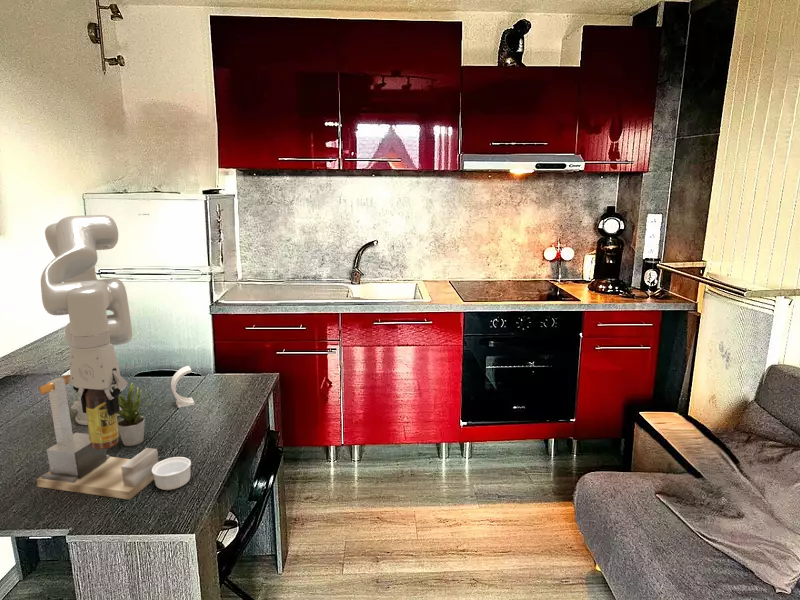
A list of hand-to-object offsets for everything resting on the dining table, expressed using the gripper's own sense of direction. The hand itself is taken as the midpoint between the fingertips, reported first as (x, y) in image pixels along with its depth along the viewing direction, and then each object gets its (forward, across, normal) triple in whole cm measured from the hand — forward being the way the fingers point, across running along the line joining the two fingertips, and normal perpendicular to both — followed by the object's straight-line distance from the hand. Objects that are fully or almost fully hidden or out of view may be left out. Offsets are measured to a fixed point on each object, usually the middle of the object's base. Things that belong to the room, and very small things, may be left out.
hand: (101, 411), depth 131 cm
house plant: (+18, -9, +19) cm, 28 cm away
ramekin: (+19, +15, +3) cm, 24 cm away
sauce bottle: (+9, 0, 0) cm, 9 cm away
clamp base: (+18, -2, 0) cm, 18 cm away
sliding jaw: (+16, -9, 0) cm, 18 cm away
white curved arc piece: (+18, -9, +44) cm, 49 cm away
